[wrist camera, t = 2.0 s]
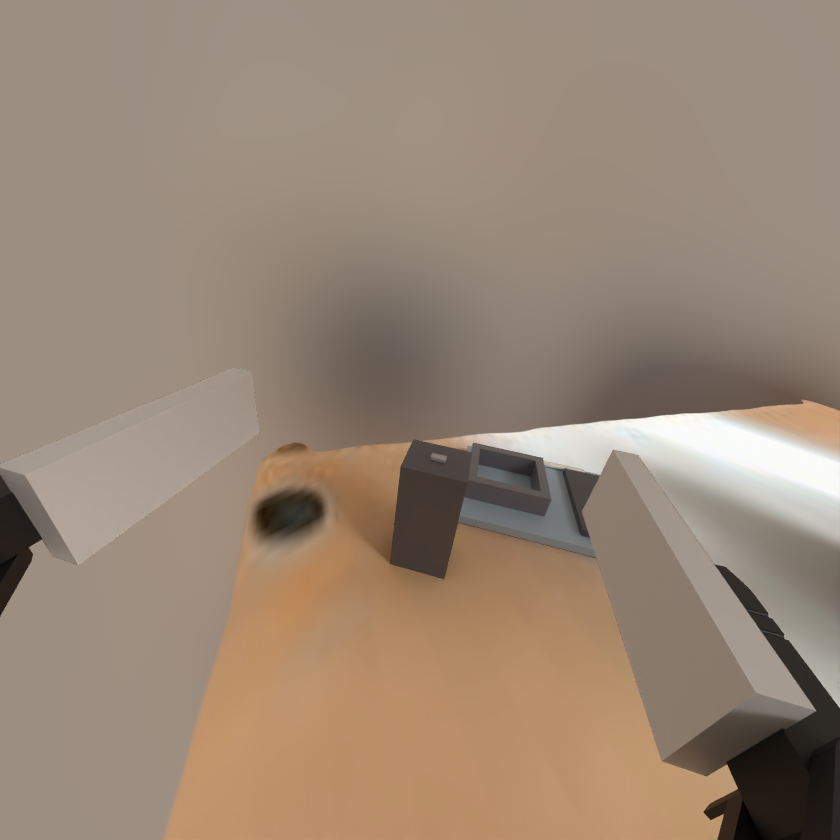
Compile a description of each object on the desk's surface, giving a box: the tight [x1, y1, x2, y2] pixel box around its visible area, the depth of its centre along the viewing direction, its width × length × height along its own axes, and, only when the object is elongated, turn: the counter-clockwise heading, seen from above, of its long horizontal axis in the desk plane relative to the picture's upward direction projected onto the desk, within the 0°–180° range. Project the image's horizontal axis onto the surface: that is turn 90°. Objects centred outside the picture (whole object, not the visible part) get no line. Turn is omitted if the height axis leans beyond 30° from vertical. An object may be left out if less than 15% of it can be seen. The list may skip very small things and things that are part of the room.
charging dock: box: [458, 443, 600, 558], centre depth 38 cm, size 21×14×4 cm, turn 77°
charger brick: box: [390, 440, 472, 579], centre depth 27 cm, size 5×4×11 cm
